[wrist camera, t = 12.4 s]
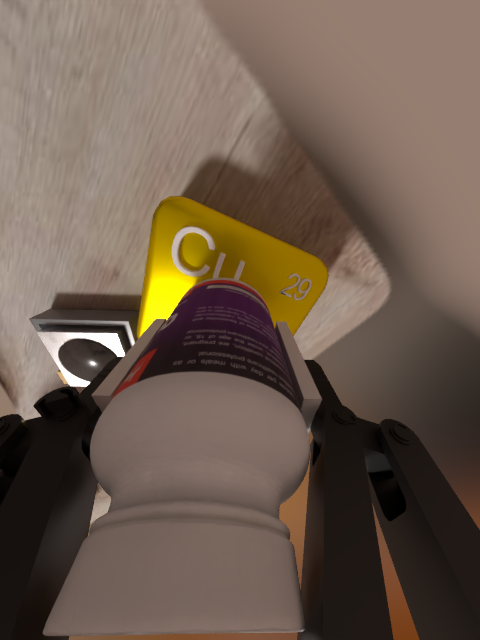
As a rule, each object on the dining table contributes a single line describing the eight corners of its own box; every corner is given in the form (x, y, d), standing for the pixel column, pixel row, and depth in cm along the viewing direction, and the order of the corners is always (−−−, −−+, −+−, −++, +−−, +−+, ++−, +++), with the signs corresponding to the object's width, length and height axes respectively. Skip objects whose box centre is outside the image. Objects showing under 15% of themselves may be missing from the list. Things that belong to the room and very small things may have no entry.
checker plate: (54, 321, 20) (34, 332, 18) (127, 323, 20) (115, 334, 18) (82, 373, 24) (68, 387, 22) (143, 374, 24) (135, 388, 22)
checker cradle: (50, 308, 21) (24, 321, 18) (139, 311, 21) (125, 323, 18) (84, 372, 25) (67, 389, 23) (156, 373, 26) (147, 390, 23)
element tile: (150, 327, 22) (130, 352, 18) (175, 191, 16) (152, 181, 12) (258, 360, 25) (263, 388, 21) (319, 257, 19) (343, 269, 14)
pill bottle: (182, 264, 14) (-276, 639, 2) (280, 284, 15) (494, 630, 2) (178, 345, 18) (40, 637, 5) (256, 357, 19) (290, 634, 6)
